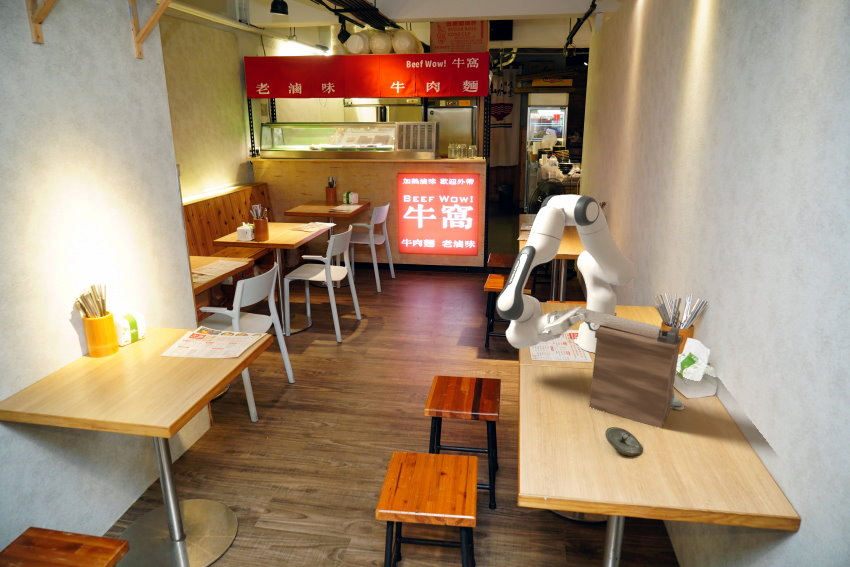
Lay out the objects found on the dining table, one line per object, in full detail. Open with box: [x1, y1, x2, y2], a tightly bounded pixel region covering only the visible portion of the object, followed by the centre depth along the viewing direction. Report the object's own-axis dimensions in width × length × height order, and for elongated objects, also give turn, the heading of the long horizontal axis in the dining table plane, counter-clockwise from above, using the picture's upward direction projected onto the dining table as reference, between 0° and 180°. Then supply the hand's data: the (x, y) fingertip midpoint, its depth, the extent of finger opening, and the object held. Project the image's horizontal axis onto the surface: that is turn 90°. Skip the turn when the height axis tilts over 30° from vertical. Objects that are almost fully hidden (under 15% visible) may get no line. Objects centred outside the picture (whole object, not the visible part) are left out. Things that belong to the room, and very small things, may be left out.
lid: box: [605, 426, 642, 457], centre depth 162 cm, size 11×10×5 cm
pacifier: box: [670, 389, 685, 411], centre depth 187 cm, size 7×6×6 cm
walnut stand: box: [588, 325, 684, 429], centre depth 180 cm, size 13×23×29 cm, turn 57°
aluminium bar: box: [577, 308, 663, 339], centre depth 180 cm, size 3×25×3 cm, turn 57°
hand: (587, 313), depth 185 cm, fingers closed on aluminium bar, 3 cm apart
